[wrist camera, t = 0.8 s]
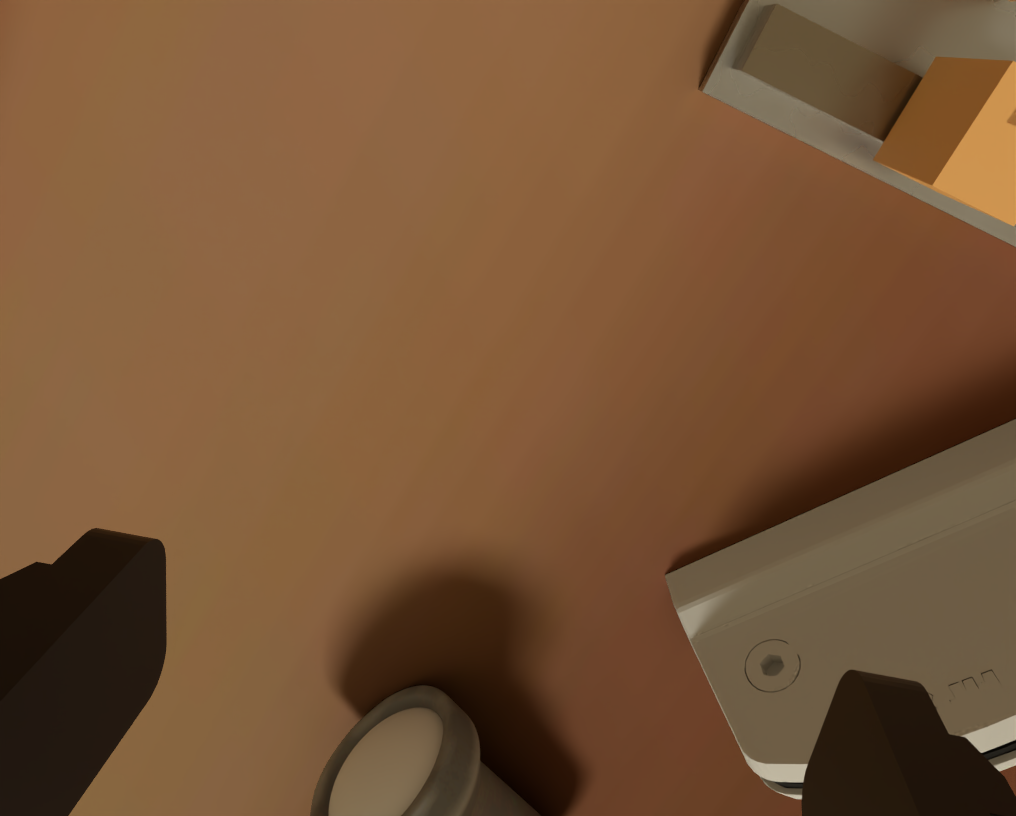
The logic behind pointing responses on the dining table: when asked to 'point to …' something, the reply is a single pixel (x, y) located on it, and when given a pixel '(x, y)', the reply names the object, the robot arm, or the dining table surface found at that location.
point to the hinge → (868, 607)
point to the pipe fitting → (413, 764)
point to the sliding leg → (961, 134)
